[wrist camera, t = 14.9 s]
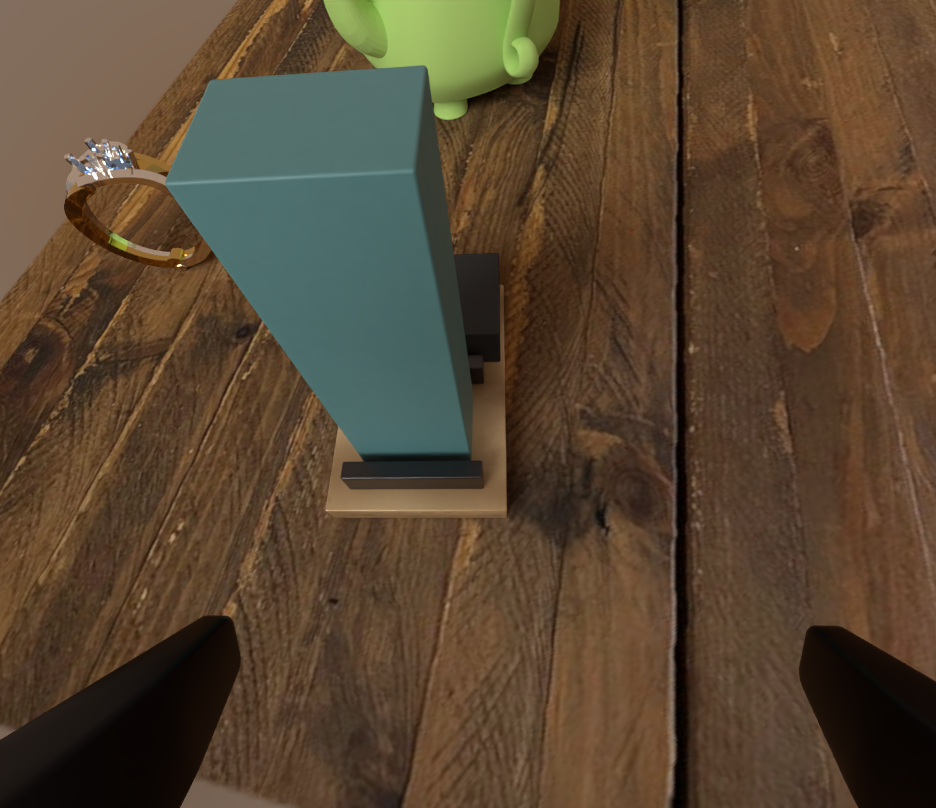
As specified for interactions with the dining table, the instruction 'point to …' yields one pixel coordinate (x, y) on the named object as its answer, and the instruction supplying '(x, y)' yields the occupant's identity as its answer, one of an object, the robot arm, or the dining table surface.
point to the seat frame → (485, 476)
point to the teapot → (451, 41)
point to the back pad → (341, 245)
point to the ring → (120, 167)
